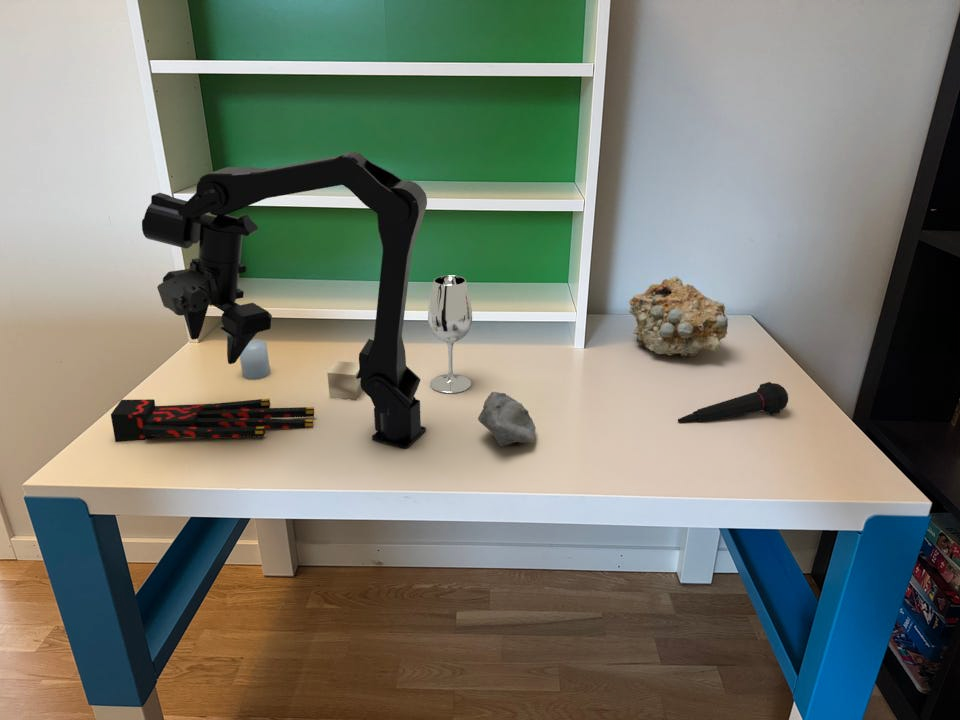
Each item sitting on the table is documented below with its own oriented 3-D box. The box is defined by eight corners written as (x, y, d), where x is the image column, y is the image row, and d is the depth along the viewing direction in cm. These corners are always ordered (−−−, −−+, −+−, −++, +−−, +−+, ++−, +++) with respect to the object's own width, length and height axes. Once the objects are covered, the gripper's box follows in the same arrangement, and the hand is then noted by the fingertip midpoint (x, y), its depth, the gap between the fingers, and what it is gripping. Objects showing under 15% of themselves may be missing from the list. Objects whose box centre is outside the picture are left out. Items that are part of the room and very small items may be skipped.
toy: (315, 421, 118) (127, 423, 113) (314, 395, 116) (123, 396, 111) (311, 446, 110) (110, 450, 105) (310, 419, 108) (105, 421, 103)
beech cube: (365, 388, 125) (364, 363, 123) (356, 400, 121) (355, 375, 119) (339, 385, 126) (337, 361, 124) (329, 398, 122) (327, 372, 119)
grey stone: (535, 461, 103) (537, 414, 100) (475, 458, 104) (475, 411, 101) (534, 424, 114) (537, 381, 110) (480, 422, 114) (480, 378, 111)
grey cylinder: (275, 371, 131) (272, 342, 129) (257, 381, 127) (253, 351, 125) (255, 366, 133) (251, 337, 131) (236, 376, 129) (232, 347, 127)
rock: (622, 336, 152) (623, 270, 147) (710, 332, 151) (715, 265, 145) (636, 370, 135) (638, 297, 129) (736, 366, 134) (742, 292, 128)
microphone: (683, 444, 115) (789, 417, 118) (689, 421, 111) (799, 394, 114) (668, 420, 118) (771, 395, 122) (673, 397, 115) (780, 372, 118)
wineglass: (478, 380, 129) (479, 277, 120) (460, 397, 122) (460, 289, 114) (441, 372, 132) (440, 271, 123) (421, 388, 125) (418, 283, 117)
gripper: (129, 239, 98) (128, 337, 105) (211, 288, 90) (204, 391, 96) (199, 232, 107) (193, 323, 113) (279, 276, 99) (268, 371, 105)
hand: (212, 350), depth 107 cm, fingers open, 9 cm apart
